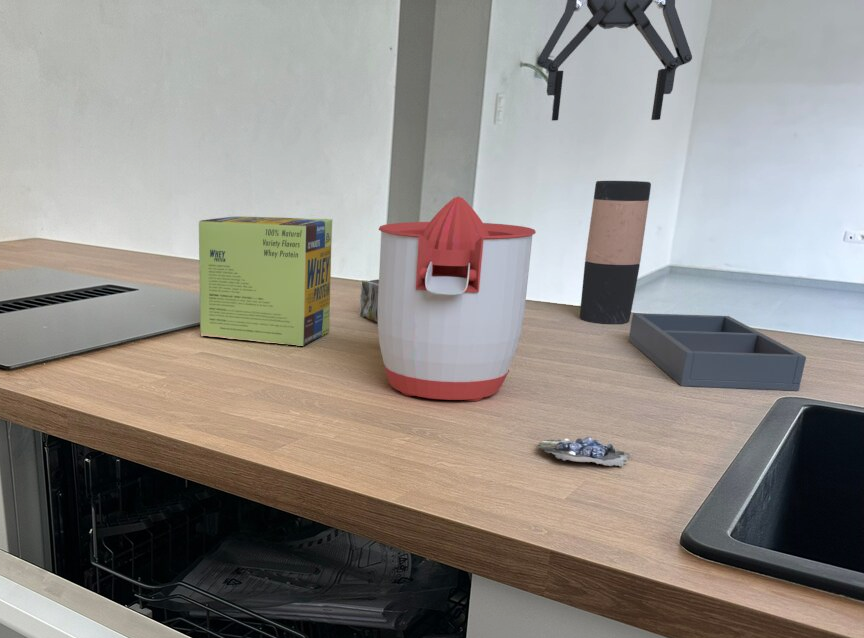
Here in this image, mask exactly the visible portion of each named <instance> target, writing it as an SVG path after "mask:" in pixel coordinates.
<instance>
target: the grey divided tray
mask: <svg viewBox="0 0 864 638" xmlns="http://www.w3.org/2000/svg"><path fill="white" fill-rule="evenodd" d="M628 342H629V343H630V344H632V345H633V346H634V347H635V348H636V349H637V350H639V351H640V352H641V353H642V354H643V355H645V356H646V357H647V358H648V359H649V360H650V361H652V362H653V363H654V364H655V365H656V366H658V368H660V370H662V371H663V372H664V373H665V374H666V375H668V377H670V378H671V379H672V380H674V382H676V383H677V384H678V385H679V386H680V387H694V388H695V387H696V388H697V387H698V388H719V389H741V390H742V389H743V390H744V389H746V390H766V391H767V390H768V391H792V392H799V391H800V389H801V383H802V378H803V374H804V369H805V365H806V361H807V356H806V355H804V354H802V353H800V352H798V351H796V350H795V349H793V348H790V347H789V346H787V345H785V344H783V343H781V342H780V341H777V340H775V339H773V338H771V337H770V336H768V335H766V334H764V333H762V332H760V331H759V330H756V329H754V328H752V327H750V326H749V325H747V324H745V323H743V322H741V321H739V320H737V319H735V318H734V317H731V316H730V315H713V314H712V315H710V314H708V315H707V314H677V313H675V314H674V313H646V312H645V313H641V312H633V313H632V314H631V322H630V329H629V336H628Z"/></svg>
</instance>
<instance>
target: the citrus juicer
mask: <svg viewBox="0 0 864 638" xmlns="http://www.w3.org/2000/svg"><path fill="white" fill-rule="evenodd" d="M378 231H379V232H380V248H379V250H380V251H379V270H378V271H379V272H378V279H379V290H378V322H377V333H378V334H377V335H378V340H379V348H380V353H381V356H382V360H383V368H384V371H385V374H386V377H387V379H388V383H389V385H390V386H391V387H392V388H393V389H395V390H397V391H399V392H401V394H402V395H403V394H404V396H406V397H411V396H417V397H418V398H419V397H421V398H424V399H425V398H426V399H433V400H446V401H448V400H449V401H463V400H464V401H467V402H478V401H481V400H482V399H483V398H487V397H490V396H493V395H496V394H497V393H498V392H499V391H500V389H501V387H502V386H503V384H504V383H505V380H506V378H507V376H508V374H509V372H510V367H511V364H512V362H513V359H514V357H515V354H516V352H517V349H518V345H519V341H520V338H521V335H522V331H523V324H524V319H525V310H526V303H527V302H526V301H527V292H528V291H527V290H528V283H529V272H530V265H531V263H530V261H531V255H532V245H533V244H532V243H533V235H535V234H536V233H537V232H536V230H535V229H534V228H531V227H528V226H523V225H522V226H521V225H515V224H503V223H491V222H490V223H489V222H483V221H482V219H481V218H480V216H479V215H478V214H477V212H476V211H475V210H474V209H473V208H472V206H471V205H470V204H469V203H468V201H466V200H465V199H464V198H463V197H461V196H456V197H455V196H454V197H453V198H452V199H451V200H450V201H448V202H447V203H445V205H444V206H443V207H442V208H441V209H440V210H439V211H438V212H437V213H436V214H435V215H434V216H433V217H432V219H431V220H430V221H413V222H411V221H408V222H395V223H387V224H382V225H380V226H379V228H378Z"/></svg>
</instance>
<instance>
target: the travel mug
mask: <svg viewBox="0 0 864 638" xmlns="http://www.w3.org/2000/svg"><path fill="white" fill-rule="evenodd" d="M651 187H652V183H651V182H650V181H644V180H643V181H641V180H597V181H596V182H595V186H594V193H593V201H592V207H591V215H590V222H589V230H588V237H587V243H586V251H585V258H584V267H583V278H582V287H581V288H582V289H581V296H580V297H581V300H580V301H581V302H580V308H579V309H580V310H579V319H580V318H581V319H580V320H582V319H583V320H582V321H585V322H588V323H595V324H606V325H621V324H627V323H629V322H630V319H631V316H632V310H633V304H634V299H635V293H636V288H637V283H638V278H639V271H640V266H641V260H642V252H643V246H644V239H645V238H644V237H645V232H646V231H645V230H646V225H647V224H646V223H647V217H648V210H649V204H650V195H651V189H652V188H651Z"/></svg>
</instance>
